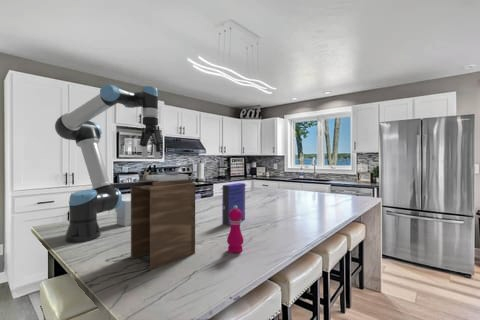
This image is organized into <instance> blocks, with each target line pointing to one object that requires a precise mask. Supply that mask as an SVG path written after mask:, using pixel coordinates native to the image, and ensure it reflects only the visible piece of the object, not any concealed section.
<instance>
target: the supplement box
mask: <svg viewBox="0 0 480 320" xmlns="http://www.w3.org/2000/svg"><path fill="white" fill-rule="evenodd" d="M116 224H117V225H118V226H122V227H128V226H131V197H127V198H122V201H121V203H120V205H119V206H118V207H117V208H116Z"/></svg>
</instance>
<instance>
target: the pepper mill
mask: <svg viewBox="0 0 480 320" xmlns="http://www.w3.org/2000/svg"><path fill="white" fill-rule="evenodd" d="M237 208H238V207H237V206H236V205H235V206H234V209H232V210H230V212H229V218H230V219H231V220H230V224H231V225H230V230H229V233H228V235H227V241H226V242H227V245H228V247H227V251H228V252H229V253H232V254H238V253H239V254H240V253H242V252H243V246H242V245H243V244H244V236H243V233H242V231H241V224H242V221H241V220H240V219H241V218H242V212H241V210H239V209H237Z"/></svg>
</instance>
